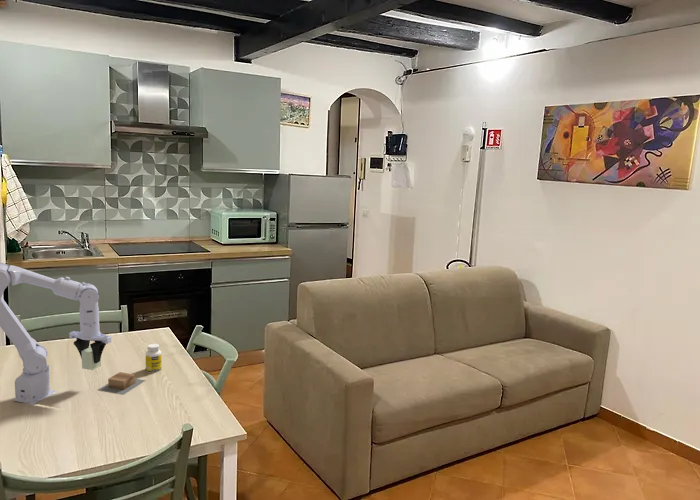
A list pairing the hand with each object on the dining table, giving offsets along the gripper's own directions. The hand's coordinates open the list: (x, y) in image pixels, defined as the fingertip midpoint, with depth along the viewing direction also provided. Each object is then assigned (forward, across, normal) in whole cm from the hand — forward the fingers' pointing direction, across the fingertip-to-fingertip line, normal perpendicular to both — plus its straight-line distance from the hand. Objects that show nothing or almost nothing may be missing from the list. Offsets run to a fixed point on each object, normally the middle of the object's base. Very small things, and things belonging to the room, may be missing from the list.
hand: (91, 361), depth 181 cm
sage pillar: (+2, 0, 0) cm, 2 cm away
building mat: (+10, -8, -4) cm, 13 cm away
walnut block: (+9, -8, -4) cm, 13 cm away
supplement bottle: (+10, -10, -19) cm, 24 cm away
